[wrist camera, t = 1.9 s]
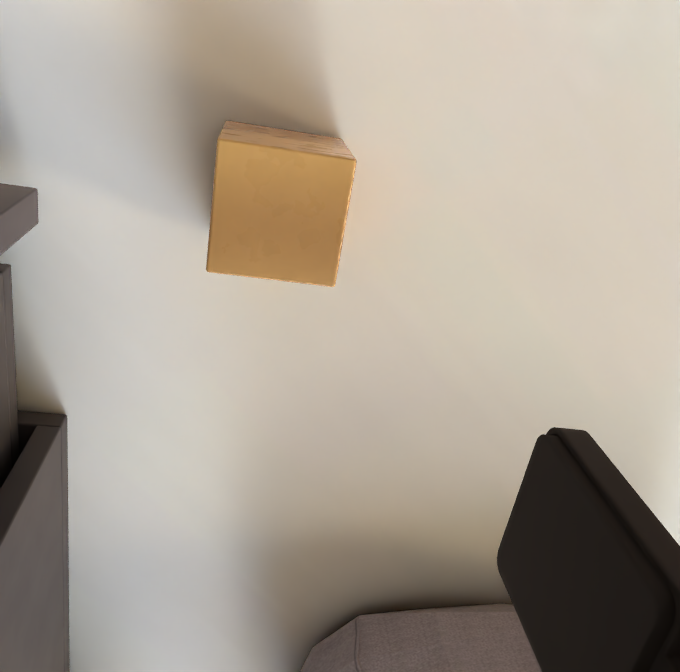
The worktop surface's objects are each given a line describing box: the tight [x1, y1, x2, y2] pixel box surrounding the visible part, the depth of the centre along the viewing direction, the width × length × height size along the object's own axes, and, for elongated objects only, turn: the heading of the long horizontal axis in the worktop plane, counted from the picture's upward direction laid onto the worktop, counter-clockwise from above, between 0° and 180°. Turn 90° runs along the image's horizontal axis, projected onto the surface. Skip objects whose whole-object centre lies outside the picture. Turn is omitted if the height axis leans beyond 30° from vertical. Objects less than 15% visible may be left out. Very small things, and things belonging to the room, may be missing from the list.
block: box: [206, 121, 356, 287], centre depth 21 cm, size 4×4×4 cm
